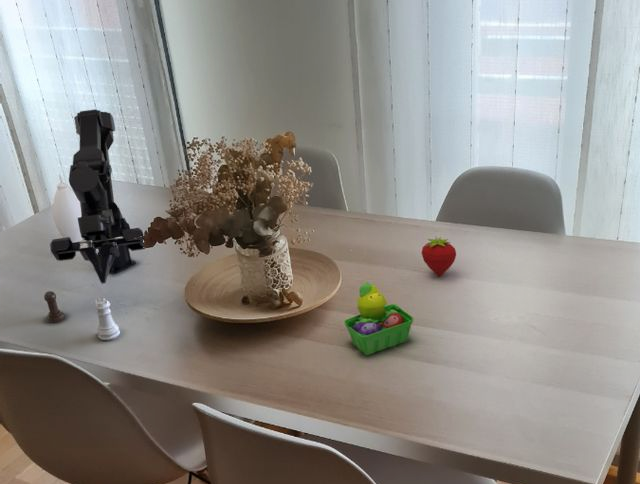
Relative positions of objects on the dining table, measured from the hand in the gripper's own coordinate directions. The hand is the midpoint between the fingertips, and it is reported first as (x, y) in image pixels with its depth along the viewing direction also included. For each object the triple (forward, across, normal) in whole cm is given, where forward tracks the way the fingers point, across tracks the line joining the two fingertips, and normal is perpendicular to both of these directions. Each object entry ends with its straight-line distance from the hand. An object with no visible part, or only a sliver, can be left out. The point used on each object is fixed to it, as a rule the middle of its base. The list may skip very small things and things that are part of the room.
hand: (103, 282), depth 178 cm
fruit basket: (+24, +52, -12) cm, 58 cm away
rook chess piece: (+12, 0, 0) cm, 12 cm away
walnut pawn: (+4, -12, +8) cm, 15 cm away
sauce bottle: (-25, -11, +37) cm, 46 cm away
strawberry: (+8, +70, +4) cm, 71 cm away
